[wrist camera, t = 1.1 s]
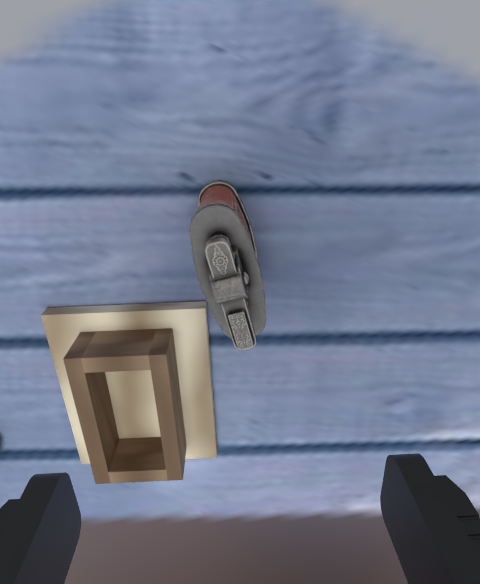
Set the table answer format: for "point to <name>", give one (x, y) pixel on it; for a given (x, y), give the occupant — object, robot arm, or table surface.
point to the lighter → (228, 263)
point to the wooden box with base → (135, 386)
